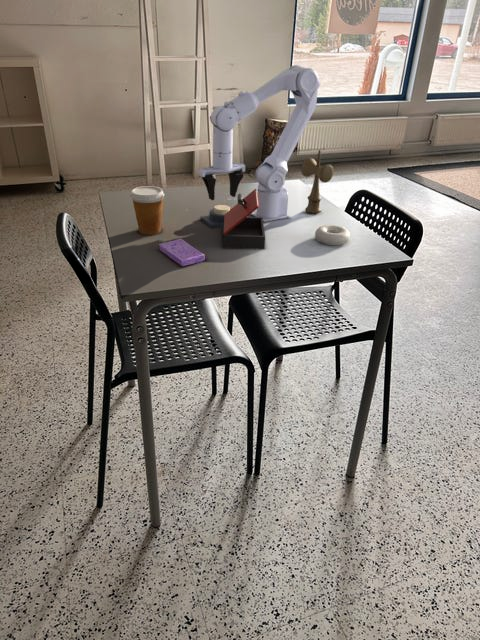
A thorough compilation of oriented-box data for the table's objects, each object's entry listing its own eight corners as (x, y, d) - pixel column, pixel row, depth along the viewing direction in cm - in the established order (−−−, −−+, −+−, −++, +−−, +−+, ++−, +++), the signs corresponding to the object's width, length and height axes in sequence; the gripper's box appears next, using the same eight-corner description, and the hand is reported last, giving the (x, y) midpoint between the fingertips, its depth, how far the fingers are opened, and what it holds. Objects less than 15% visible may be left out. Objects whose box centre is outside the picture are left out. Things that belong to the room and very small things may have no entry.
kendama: (310, 206, 169) (316, 145, 158) (329, 214, 162) (337, 151, 152) (296, 209, 166) (302, 147, 155) (316, 218, 159) (323, 154, 149)
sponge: (181, 244, 138) (181, 238, 137) (205, 260, 129) (205, 254, 128) (158, 250, 134) (158, 243, 133) (181, 267, 126) (181, 260, 125)
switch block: (231, 214, 160) (231, 205, 158) (243, 222, 154) (244, 212, 153) (200, 219, 155) (200, 210, 153) (212, 227, 149) (212, 218, 148)
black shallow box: (262, 228, 150) (262, 217, 148) (264, 249, 137) (265, 236, 135) (224, 227, 150) (225, 216, 148) (223, 248, 137) (224, 235, 135)
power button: (225, 209, 156) (225, 203, 155) (232, 214, 153) (232, 208, 152) (211, 211, 154) (211, 206, 153) (218, 216, 150) (218, 210, 149)
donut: (346, 250, 138) (351, 236, 146) (348, 238, 136) (353, 225, 144) (311, 244, 141) (318, 231, 149) (312, 233, 139) (319, 220, 147)
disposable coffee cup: (151, 239, 140) (148, 198, 134) (126, 232, 144) (122, 191, 138) (173, 229, 147) (171, 189, 141) (148, 222, 151) (145, 183, 145)
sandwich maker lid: (256, 190, 144) (248, 180, 142) (258, 207, 131) (249, 196, 129) (225, 216, 148) (217, 206, 146) (224, 235, 135) (215, 225, 133)
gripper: (237, 146, 150) (236, 190, 157) (194, 150, 143) (194, 197, 150) (249, 151, 145) (247, 197, 152) (205, 156, 138) (205, 203, 145)
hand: (222, 197), depth 151 cm, fingers open, 7 cm apart
